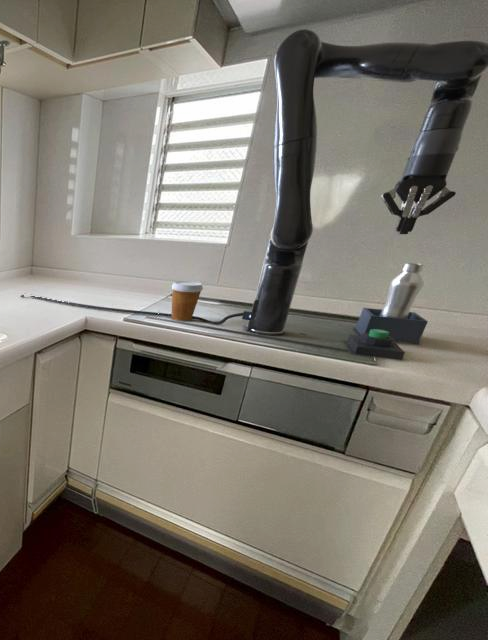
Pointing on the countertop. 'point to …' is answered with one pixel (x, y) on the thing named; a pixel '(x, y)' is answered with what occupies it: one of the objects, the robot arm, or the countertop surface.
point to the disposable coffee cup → (184, 299)
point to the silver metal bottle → (403, 291)
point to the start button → (378, 333)
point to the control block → (375, 346)
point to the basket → (393, 325)
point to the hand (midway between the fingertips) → (402, 234)
